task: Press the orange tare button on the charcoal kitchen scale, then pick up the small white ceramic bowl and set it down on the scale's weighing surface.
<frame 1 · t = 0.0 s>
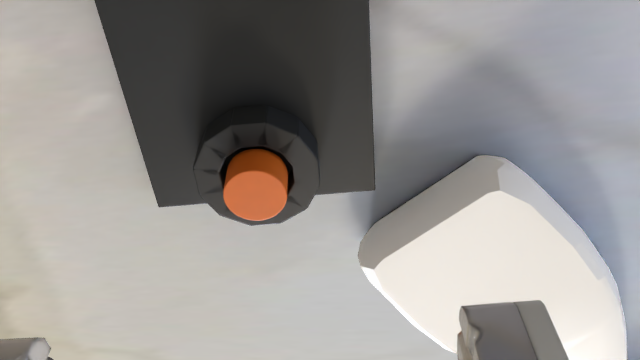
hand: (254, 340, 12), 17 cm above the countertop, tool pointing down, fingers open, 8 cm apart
scale: (247, 58, 27), on the countertop
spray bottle: (529, 303, 37), on the countertop
tare button: (256, 184, 27), point 4 cm above the countertop, slide at 0.2 cm
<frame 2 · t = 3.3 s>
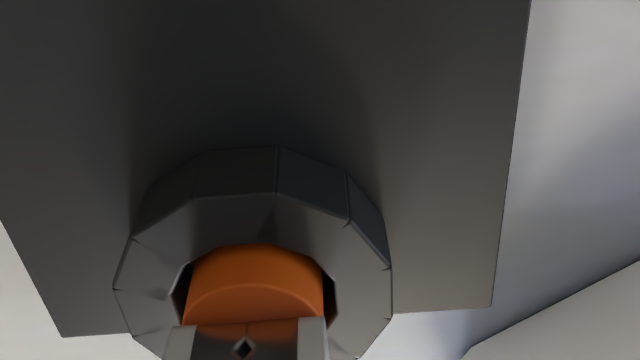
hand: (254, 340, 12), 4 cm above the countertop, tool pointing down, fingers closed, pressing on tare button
scale: (233, 42, 12), on the countertop
tare button: (256, 301, 12), point 3 cm above the countertop, slide at -0.5 cm, touching gripper
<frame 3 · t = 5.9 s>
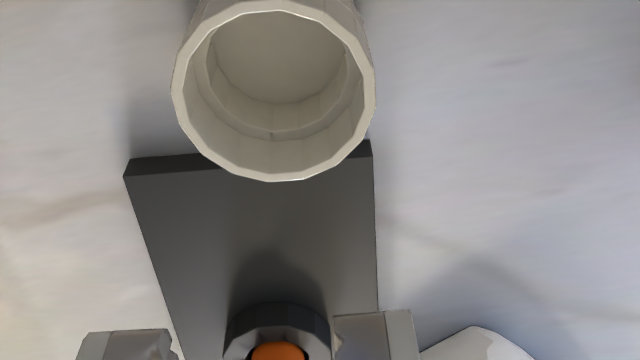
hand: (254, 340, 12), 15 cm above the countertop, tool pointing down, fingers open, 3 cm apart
scale: (269, 260, 31), on the countertop
small bowl: (279, 41, 24), on the countertop
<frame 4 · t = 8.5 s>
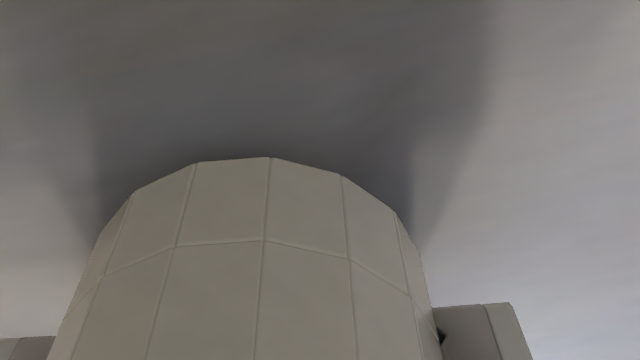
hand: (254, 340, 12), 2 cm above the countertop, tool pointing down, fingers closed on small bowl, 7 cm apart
small bowl: (261, 272, 13), on the countertop, touching gripper
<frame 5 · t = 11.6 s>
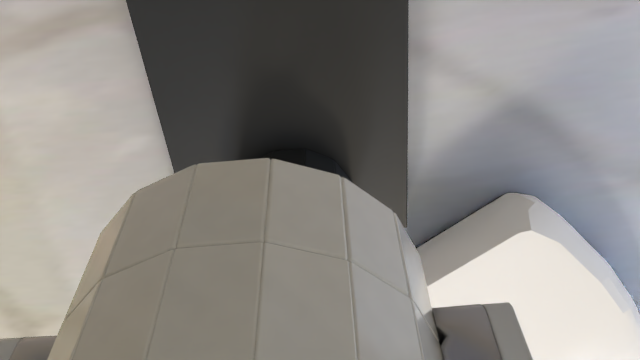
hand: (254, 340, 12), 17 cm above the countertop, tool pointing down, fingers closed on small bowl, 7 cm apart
scale: (284, 103, 27), on the countertop
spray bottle: (551, 330, 38), on the countertop
small bowl: (261, 273, 13), point 15 cm above the countertop, touching gripper
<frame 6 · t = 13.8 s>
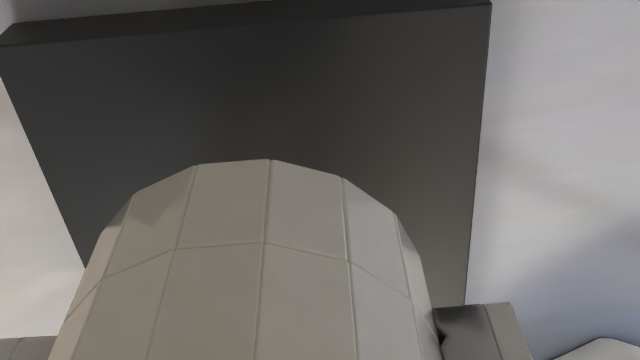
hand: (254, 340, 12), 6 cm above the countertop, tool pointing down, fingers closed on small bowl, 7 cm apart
scale: (278, 228, 18), on the countertop
small bowl: (261, 274, 13), point 4 cm above the countertop, touching gripper
when the fingers open (3 cm above the countertop, at t = 15.2 s): small bowl stays where it is, resting on scale.
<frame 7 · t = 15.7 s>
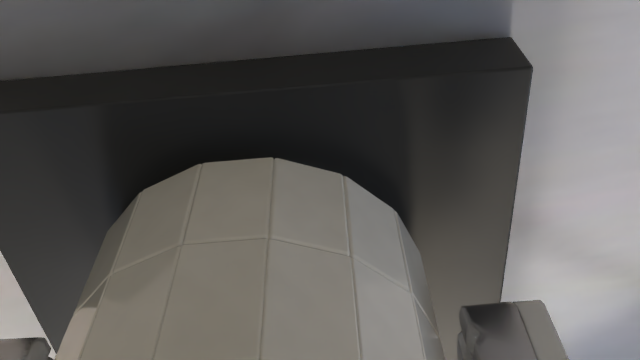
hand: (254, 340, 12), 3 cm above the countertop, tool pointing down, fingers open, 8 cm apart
scale: (277, 301, 16), on the countertop
small bowl: (264, 271, 13), point 1 cm above the countertop, touching scale
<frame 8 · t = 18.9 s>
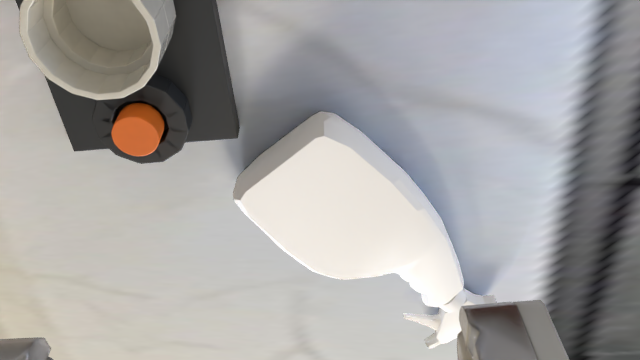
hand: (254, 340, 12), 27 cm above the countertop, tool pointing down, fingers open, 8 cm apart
scale: (132, 36, 36), on the countertop
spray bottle: (382, 236, 46), on the countertop
tare button: (138, 129, 36), point 4 cm above the countertop, slide at 0.2 cm
small bowl: (116, 4, 34), point 1 cm above the countertop, touching scale
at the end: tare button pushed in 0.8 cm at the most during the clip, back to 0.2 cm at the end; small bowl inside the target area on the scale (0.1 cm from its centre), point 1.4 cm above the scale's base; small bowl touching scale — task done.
